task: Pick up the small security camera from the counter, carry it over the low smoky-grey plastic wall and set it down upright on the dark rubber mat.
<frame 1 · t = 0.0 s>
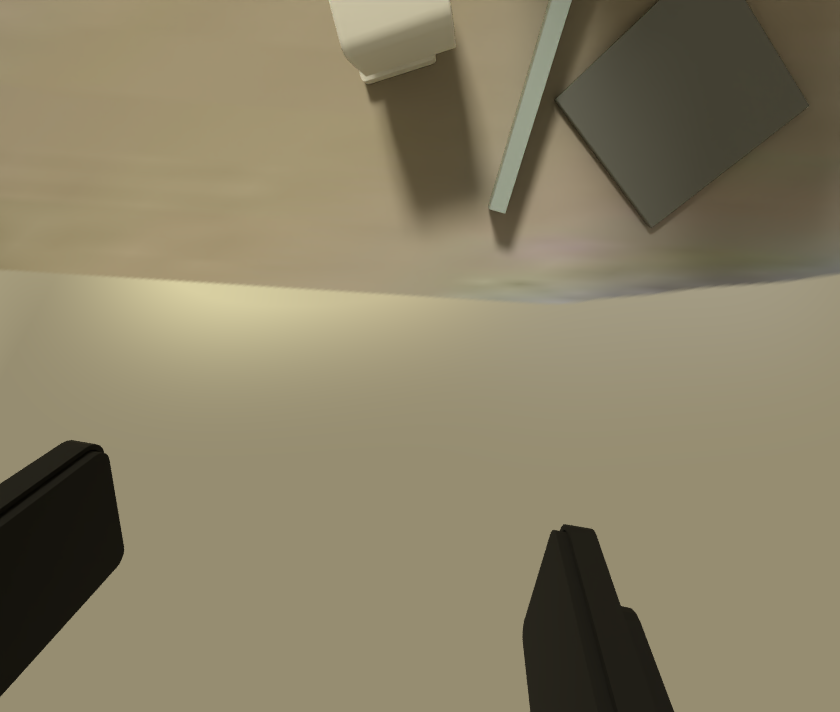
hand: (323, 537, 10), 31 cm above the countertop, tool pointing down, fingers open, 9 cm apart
security camera: (401, 28, 33), on the countertop
low wall: (538, 65, 32), on the countertop
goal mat: (676, 103, 32), on the countertop
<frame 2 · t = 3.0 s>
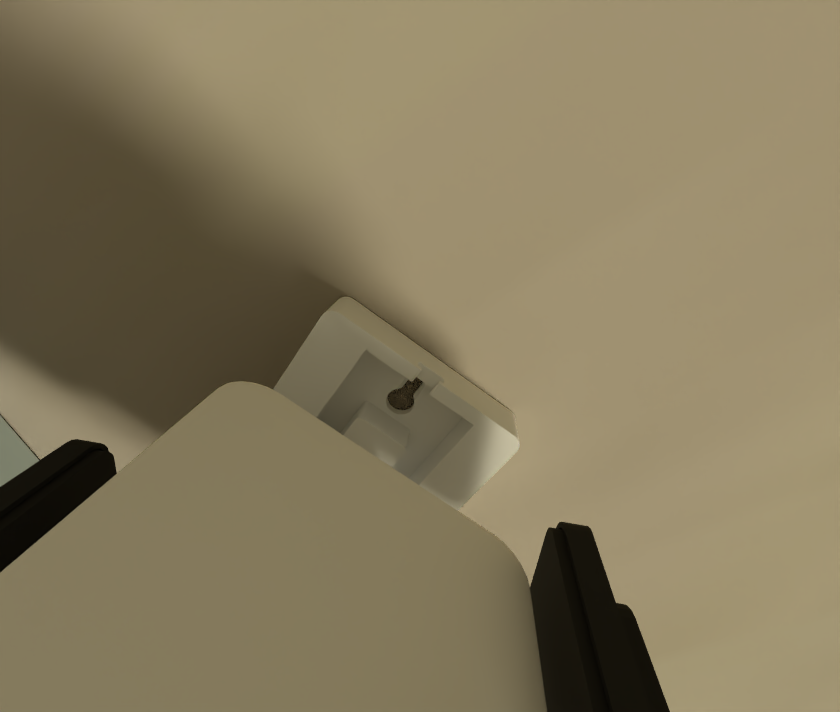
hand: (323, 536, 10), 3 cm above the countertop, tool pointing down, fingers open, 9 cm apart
security camera: (361, 444, 13), on the countertop, touching gripper
low wall: (96, 546, 15), on the countertop
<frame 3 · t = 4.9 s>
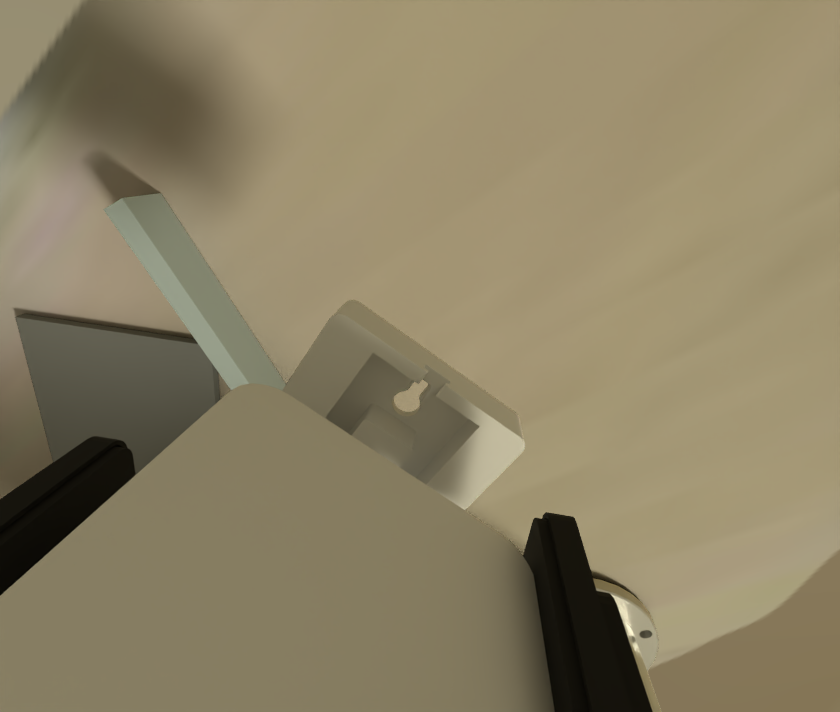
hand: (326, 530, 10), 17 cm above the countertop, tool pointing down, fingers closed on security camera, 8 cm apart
security camera: (367, 446, 13), point 14 cm above the countertop, touching gripper
low wall: (256, 355, 27), on the countertop
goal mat: (133, 412, 30), on the countertop
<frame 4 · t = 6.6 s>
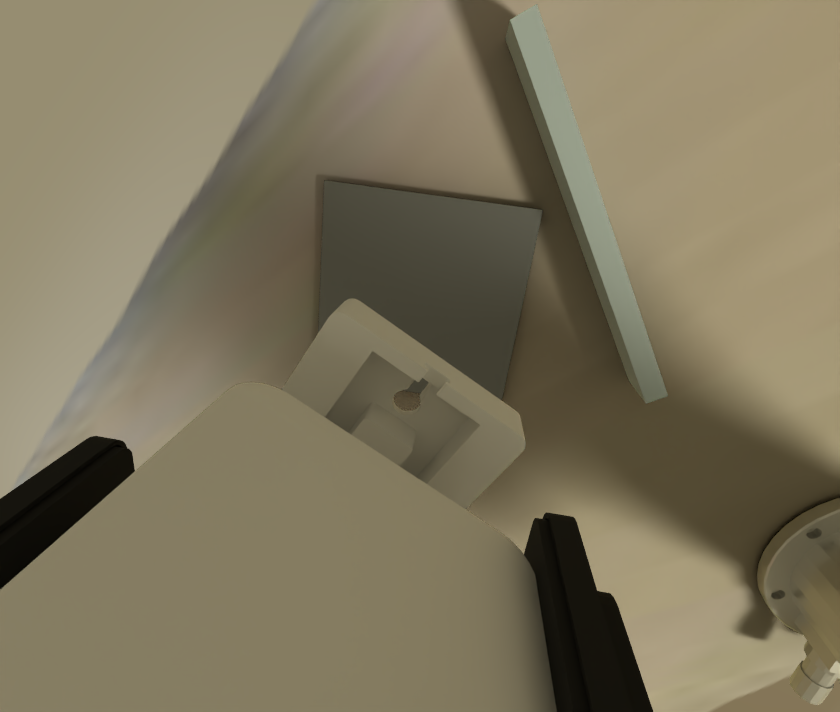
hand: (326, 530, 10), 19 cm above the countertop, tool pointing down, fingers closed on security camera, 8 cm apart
security camera: (367, 445, 13), point 16 cm above the countertop, touching gripper
low wall: (584, 224, 25), on the countertop
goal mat: (419, 298, 28), on the countertop
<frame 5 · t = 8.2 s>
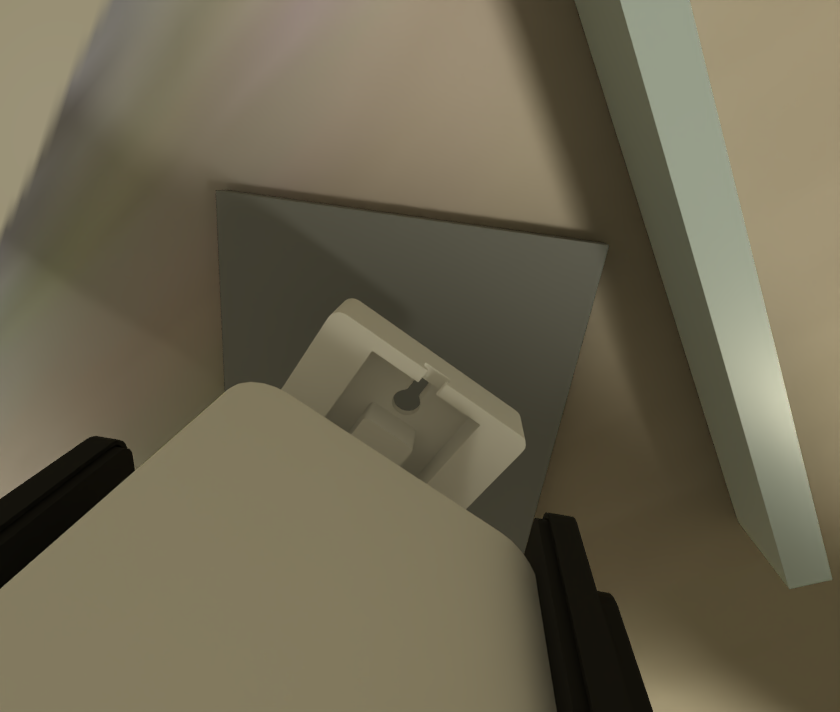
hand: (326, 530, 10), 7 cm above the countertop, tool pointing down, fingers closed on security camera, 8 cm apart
security camera: (367, 445, 13), point 4 cm above the countertop, touching gripper
low wall: (681, 270, 14), on the countertop
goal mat: (391, 386, 17), on the countertop
when the fingers open (5 cm above the countertop, at t = 9.7 s): security camera drops 1 cm, resting on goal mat.
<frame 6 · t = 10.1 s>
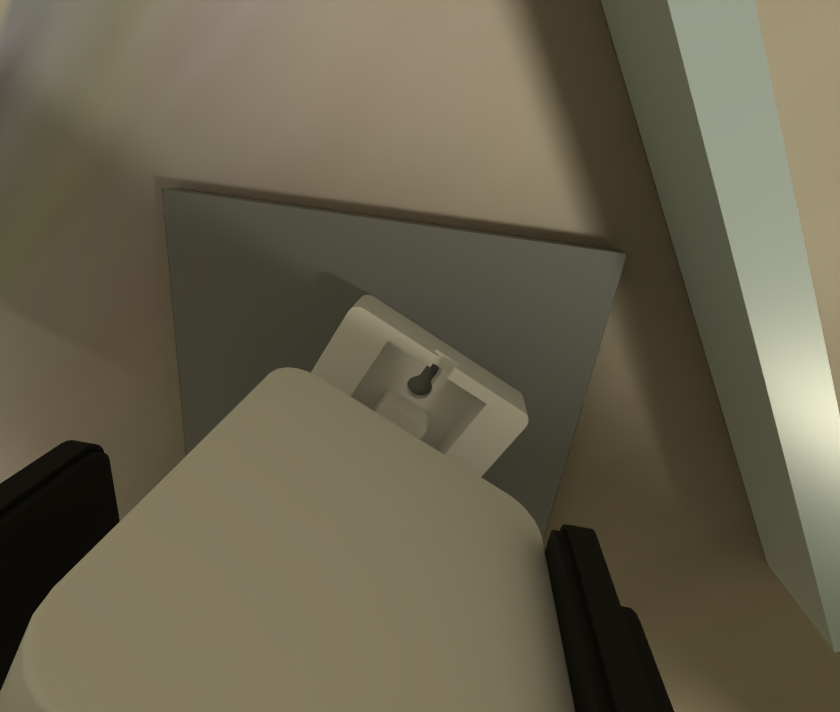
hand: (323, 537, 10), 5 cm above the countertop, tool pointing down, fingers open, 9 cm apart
security camera: (385, 429, 14), resting on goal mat
low wall: (710, 282, 12), on the countertop
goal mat: (373, 414, 14), on the countertop
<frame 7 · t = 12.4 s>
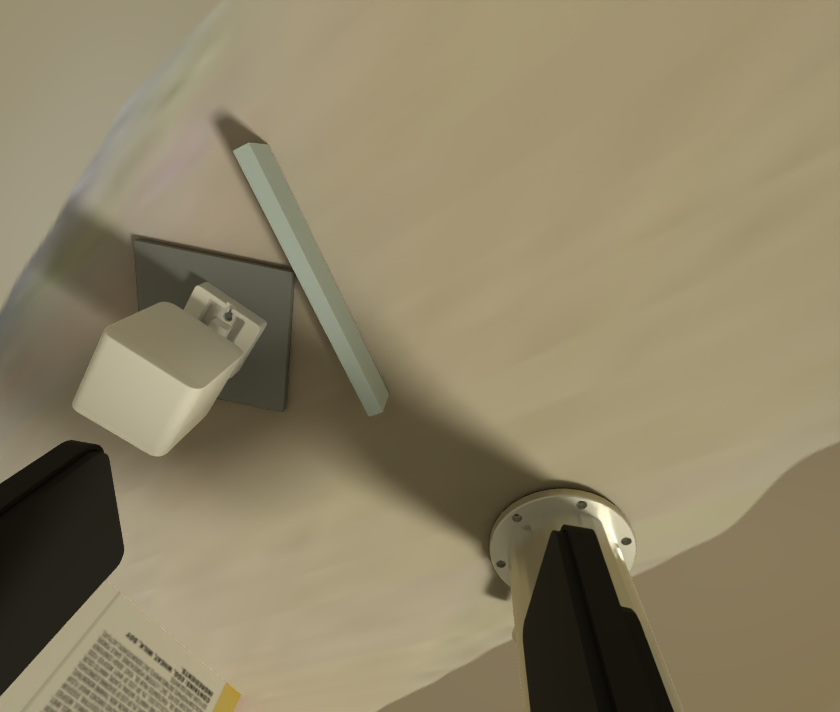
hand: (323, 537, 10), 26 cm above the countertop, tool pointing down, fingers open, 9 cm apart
security camera: (219, 334, 36), resting on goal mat
pasta box: (151, 645, 53), on the countertop
low wall: (327, 283, 34), on the countertop
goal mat: (216, 329, 36), on the countertop
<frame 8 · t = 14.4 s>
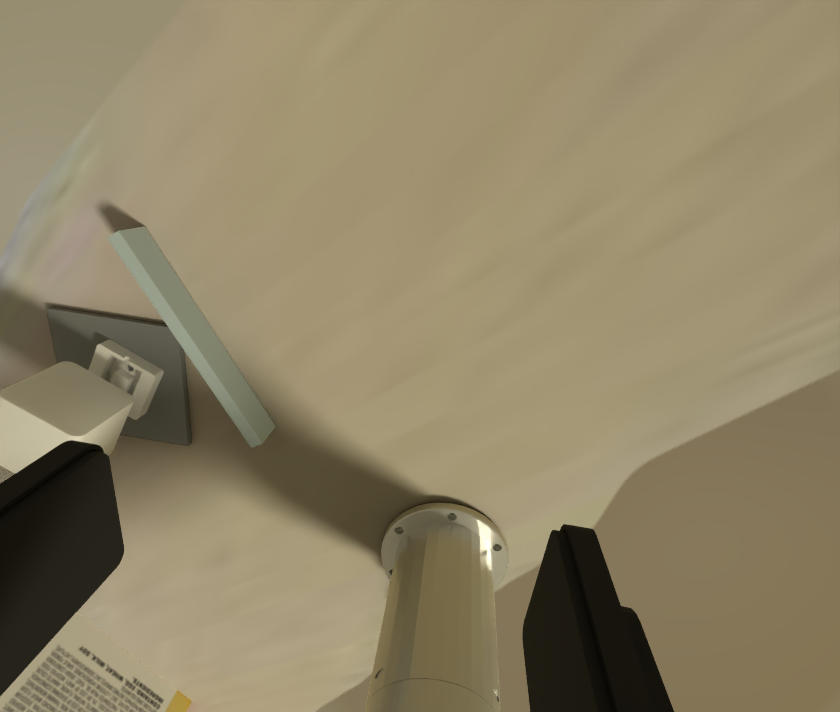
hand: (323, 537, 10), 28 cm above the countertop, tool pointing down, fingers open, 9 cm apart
security camera: (126, 382, 42), resting on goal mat
pasta box: (108, 658, 59), on the countertop
low wall: (209, 336, 40), on the countertop
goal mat: (125, 377, 42), on the countertop
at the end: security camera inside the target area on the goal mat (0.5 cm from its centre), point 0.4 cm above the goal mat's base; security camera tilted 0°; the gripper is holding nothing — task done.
